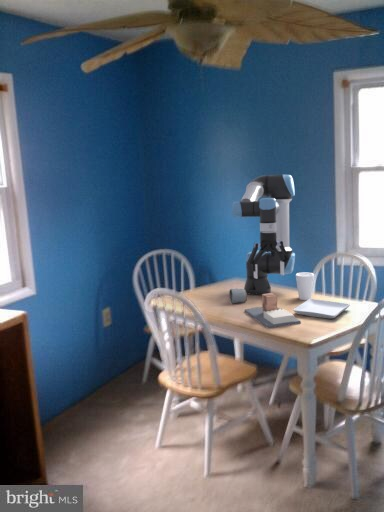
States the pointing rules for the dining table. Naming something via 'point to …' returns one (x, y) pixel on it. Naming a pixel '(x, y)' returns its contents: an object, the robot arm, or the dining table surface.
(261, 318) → the board
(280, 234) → the robot arm
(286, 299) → the dining table surface
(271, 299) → the reddish brown block
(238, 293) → the grey cylinder
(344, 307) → the salad plate
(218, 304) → the dining table surface
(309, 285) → the foam cup
